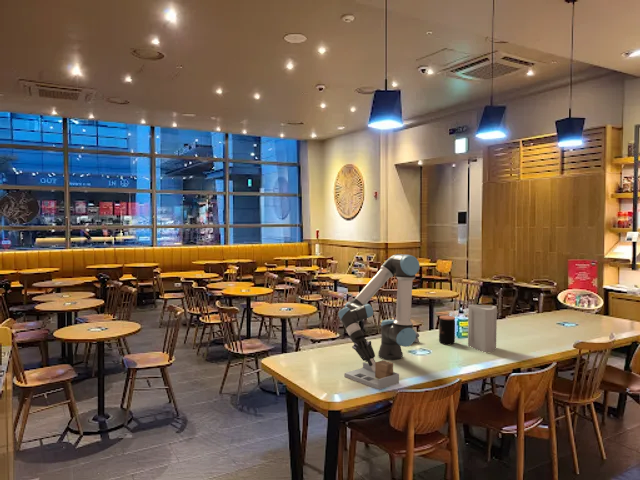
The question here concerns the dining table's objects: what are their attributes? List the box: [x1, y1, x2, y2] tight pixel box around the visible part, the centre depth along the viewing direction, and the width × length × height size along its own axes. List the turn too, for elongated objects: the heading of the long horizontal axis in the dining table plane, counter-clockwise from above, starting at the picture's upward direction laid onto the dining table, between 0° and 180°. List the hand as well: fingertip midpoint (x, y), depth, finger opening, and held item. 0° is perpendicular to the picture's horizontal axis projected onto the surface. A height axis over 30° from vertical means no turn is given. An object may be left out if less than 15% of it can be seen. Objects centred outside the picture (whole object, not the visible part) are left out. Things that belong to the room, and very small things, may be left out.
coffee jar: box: [438, 315, 456, 345], centre depth 323 cm, size 11×11×18 cm
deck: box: [344, 361, 400, 390], centre depth 246 cm, size 15×26×5 cm, turn 39°
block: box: [375, 359, 394, 379], centre depth 243 cm, size 6×7×8 cm
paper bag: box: [467, 304, 498, 353], centre depth 309 cm, size 19×15×28 cm
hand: (376, 370), depth 246 cm, fingers closed
